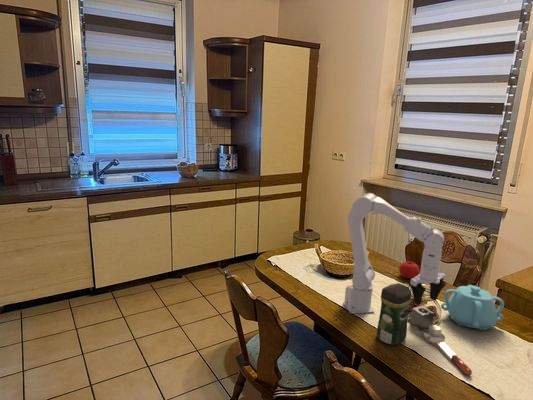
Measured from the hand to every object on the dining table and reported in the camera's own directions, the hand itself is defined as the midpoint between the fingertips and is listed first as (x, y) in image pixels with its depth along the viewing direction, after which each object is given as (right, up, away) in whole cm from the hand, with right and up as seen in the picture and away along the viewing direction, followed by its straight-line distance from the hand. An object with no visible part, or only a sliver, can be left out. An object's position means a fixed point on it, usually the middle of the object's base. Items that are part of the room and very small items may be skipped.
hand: (425, 301), depth 128 cm
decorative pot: (+19, -9, +6) cm, 22 cm away
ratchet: (+1, -13, -13) cm, 18 cm away
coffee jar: (-14, -11, -6) cm, 19 cm away
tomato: (+10, -1, +41) cm, 42 cm away
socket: (-1, -9, +2) cm, 9 cm away
